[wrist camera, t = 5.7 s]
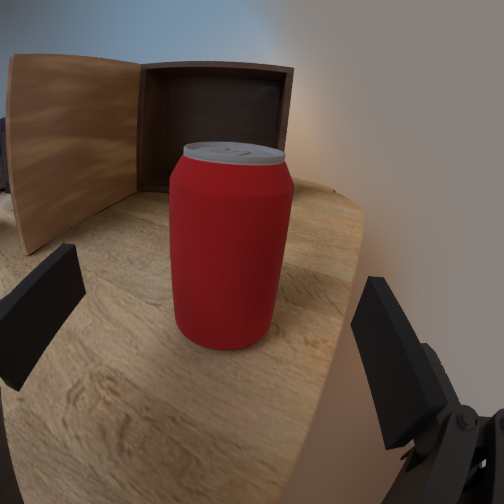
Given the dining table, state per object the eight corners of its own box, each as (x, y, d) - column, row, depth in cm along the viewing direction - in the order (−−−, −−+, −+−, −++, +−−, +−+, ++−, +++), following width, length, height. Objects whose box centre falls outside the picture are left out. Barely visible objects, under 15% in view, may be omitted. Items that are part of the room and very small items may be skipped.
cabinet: (277, 202, 46) (294, 67, 35) (136, 190, 45) (140, 64, 35) (274, 182, 58) (287, 78, 48) (162, 172, 58) (168, 73, 47)
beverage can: (280, 309, 22) (308, 151, 16) (250, 372, 16) (281, 166, 11) (202, 286, 24) (208, 138, 18) (156, 335, 18) (142, 149, 12)
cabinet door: (3, 246, 25) (-10, 69, 14) (109, 188, 45) (111, 69, 35) (27, 256, 24) (14, 53, 13) (137, 191, 45) (141, 64, 34)
